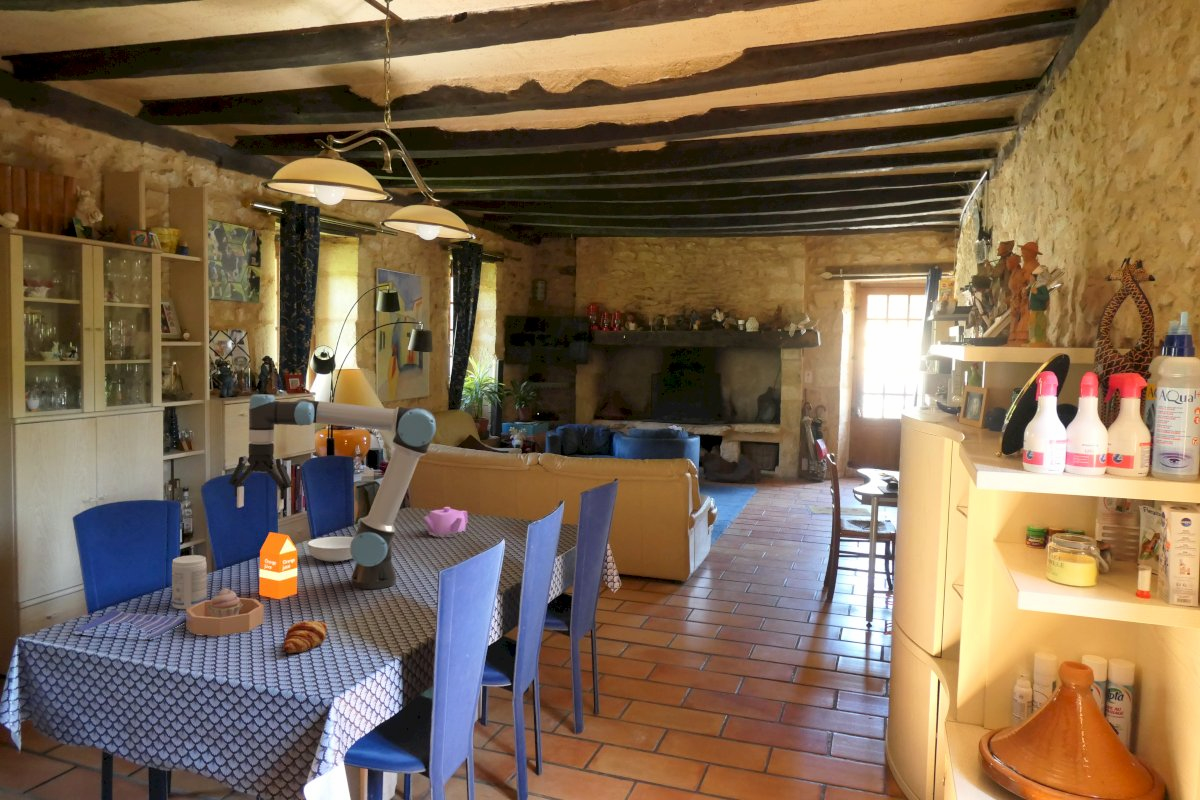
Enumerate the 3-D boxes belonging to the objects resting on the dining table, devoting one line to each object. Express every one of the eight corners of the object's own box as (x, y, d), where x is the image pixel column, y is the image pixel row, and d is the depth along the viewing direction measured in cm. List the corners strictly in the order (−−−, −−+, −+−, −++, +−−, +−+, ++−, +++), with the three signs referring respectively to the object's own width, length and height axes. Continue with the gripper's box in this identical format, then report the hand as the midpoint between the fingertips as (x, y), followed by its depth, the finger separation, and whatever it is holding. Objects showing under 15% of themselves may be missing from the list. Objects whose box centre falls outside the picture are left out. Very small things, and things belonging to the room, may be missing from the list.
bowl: (272, 616, 244) (273, 600, 244) (238, 638, 225) (238, 620, 225) (212, 612, 246) (213, 595, 246) (173, 633, 227) (174, 615, 227)
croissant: (314, 642, 234) (303, 617, 234) (344, 628, 233) (333, 603, 233) (276, 668, 213) (263, 640, 213) (309, 653, 212) (296, 625, 212)
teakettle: (468, 531, 371) (469, 504, 370) (461, 539, 354) (462, 511, 353) (431, 529, 371) (432, 503, 371) (422, 538, 354) (423, 510, 354)
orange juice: (277, 589, 272) (278, 530, 271) (297, 593, 268) (298, 533, 267) (258, 594, 265) (259, 534, 264) (278, 599, 261) (279, 537, 260)
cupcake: (229, 628, 230) (229, 593, 230) (200, 625, 232) (200, 590, 231) (249, 618, 239) (249, 584, 239) (221, 615, 241) (221, 582, 241)
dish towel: (112, 617, 239) (112, 608, 239) (189, 622, 238) (190, 613, 237) (70, 637, 222) (70, 627, 222) (153, 643, 220) (153, 633, 220)
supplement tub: (206, 599, 258) (207, 553, 257) (206, 608, 249) (207, 561, 249) (172, 602, 254) (172, 556, 253) (170, 611, 245) (171, 563, 244)
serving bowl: (372, 554, 323) (372, 537, 322) (351, 567, 302) (351, 549, 301) (321, 551, 325) (322, 534, 324) (297, 564, 304) (297, 546, 303)
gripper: (303, 443, 264) (302, 508, 265) (231, 439, 266) (230, 503, 267) (292, 445, 256) (291, 512, 257) (218, 441, 259) (217, 507, 260)
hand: (260, 508), depth 262 cm, fingers open, 13 cm apart
